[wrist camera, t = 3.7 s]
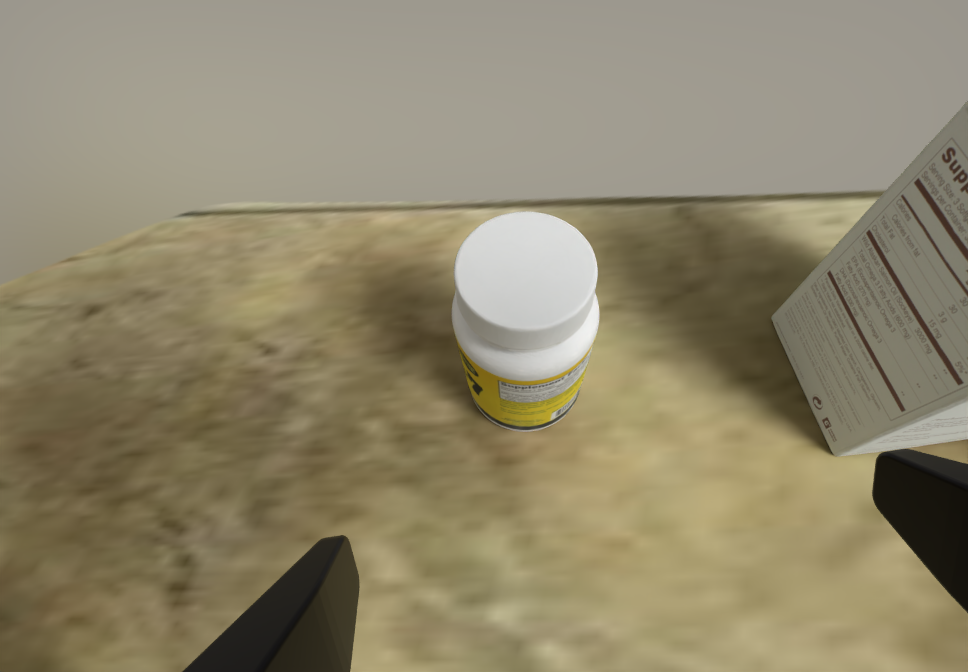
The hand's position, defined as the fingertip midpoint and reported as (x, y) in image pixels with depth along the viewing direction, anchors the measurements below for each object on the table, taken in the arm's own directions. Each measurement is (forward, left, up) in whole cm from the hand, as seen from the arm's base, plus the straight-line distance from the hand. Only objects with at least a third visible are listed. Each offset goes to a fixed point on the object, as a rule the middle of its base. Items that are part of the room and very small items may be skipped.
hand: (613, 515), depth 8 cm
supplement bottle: (+4, +7, -14) cm, 16 cm away
